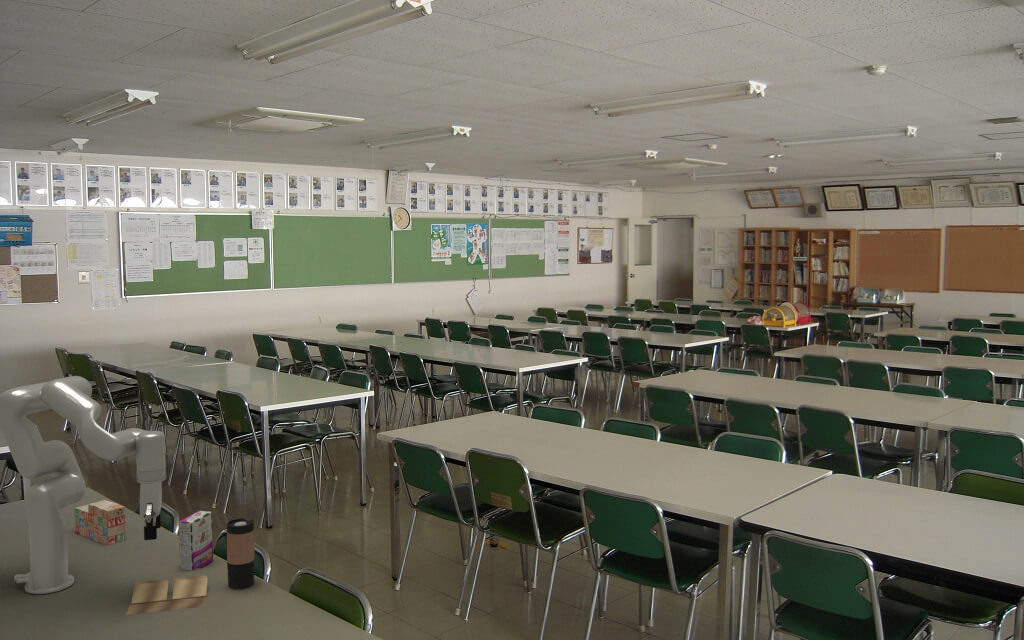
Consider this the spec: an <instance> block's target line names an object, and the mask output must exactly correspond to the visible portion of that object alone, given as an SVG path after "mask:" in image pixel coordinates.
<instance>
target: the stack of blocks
mask: <svg viewBox="0 0 1024 640" xmlns="http://www.w3.org/2000/svg"><path fill="white" fill-rule="evenodd" d="M125 511H126V507H125V506H124V505H121V504H120V503H117V502H112V501H110V500H106V499H104V500H99V501H96V502H91V503H87V504H85V505H81V506H77V507H74V524H75V525H74V526H75V533H76V534H77V535H78V534H79V535H81V536H82V537H85V538H88V539H91V540H93V541H95V542H98V543H101V544H103V545H105V544H106V545H105V546H107V545H108V546H111V545H114V544H113V543H115V544H117V543H116V542H118V543H120V542H119V541H121V542H123V541H122V540H125V541H126V530H125V529H126V527H125V526H126V525H125V524H126V516H125V514H126V513H125ZM110 544H111V545H110Z"/></svg>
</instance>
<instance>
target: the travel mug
mask: <svg viewBox="0 0 1024 640" xmlns="http://www.w3.org/2000/svg"><path fill="white" fill-rule="evenodd" d="M254 523H255V522H254V519H249V520H247V519H246V518H242V517H241V518H240V517H239V518H234V519H231V520H229V521H227V523H226V539H227V540H226V558H227V559H226V564H227V567H226V569H227V585H228V588H229V589H231V590H245V589H248V588H251V587H253V585H254V584H255V556H256V555H255V524H254Z"/></svg>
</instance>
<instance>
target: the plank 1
mask: <svg viewBox="0 0 1024 640" xmlns="http://www.w3.org/2000/svg"><path fill="white" fill-rule="evenodd" d="M133 583H134V584H133V590H132V597H131V603H130V604H134V603H143V602H152V601H162V600H168V594H169V587H170V580H169V579H158V580H157V579H156V580H148V581H138V582H133Z"/></svg>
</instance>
